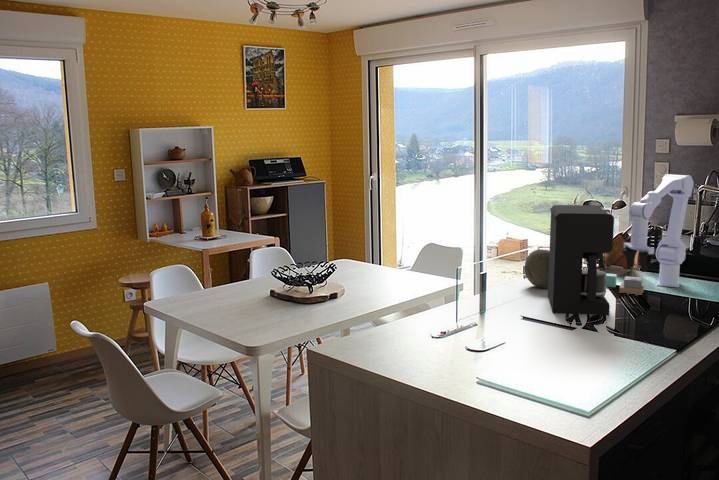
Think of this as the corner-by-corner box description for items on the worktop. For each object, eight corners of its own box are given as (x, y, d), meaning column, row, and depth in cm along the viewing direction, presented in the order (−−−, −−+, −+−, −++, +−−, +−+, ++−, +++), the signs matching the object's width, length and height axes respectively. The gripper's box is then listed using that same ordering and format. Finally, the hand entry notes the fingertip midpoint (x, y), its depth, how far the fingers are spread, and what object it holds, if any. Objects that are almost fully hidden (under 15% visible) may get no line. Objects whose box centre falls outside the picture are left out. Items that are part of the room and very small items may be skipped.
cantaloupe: (562, 291, 264) (564, 253, 262) (525, 290, 266) (526, 252, 264) (558, 283, 278) (559, 246, 275) (522, 282, 280) (523, 246, 278)
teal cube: (604, 284, 276) (605, 273, 275) (616, 285, 274) (616, 274, 273) (602, 286, 272) (603, 275, 271) (614, 287, 270) (615, 276, 269)
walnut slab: (621, 290, 267) (621, 282, 267) (643, 292, 264) (643, 284, 263) (619, 294, 260) (619, 287, 260) (641, 297, 257) (642, 289, 256)
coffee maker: (613, 319, 227) (618, 214, 221) (552, 316, 230) (556, 213, 225) (601, 298, 254) (605, 204, 248) (547, 296, 258) (550, 204, 252)
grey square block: (625, 283, 265) (625, 276, 265) (641, 285, 262) (642, 277, 262) (623, 287, 260) (624, 279, 259) (640, 288, 257) (641, 280, 257)
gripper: (617, 232, 262) (615, 266, 265) (643, 237, 249) (641, 274, 251) (633, 230, 265) (631, 265, 267) (659, 236, 251) (657, 272, 253)
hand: (637, 269), depth 259 cm, fingers open, 7 cm apart
